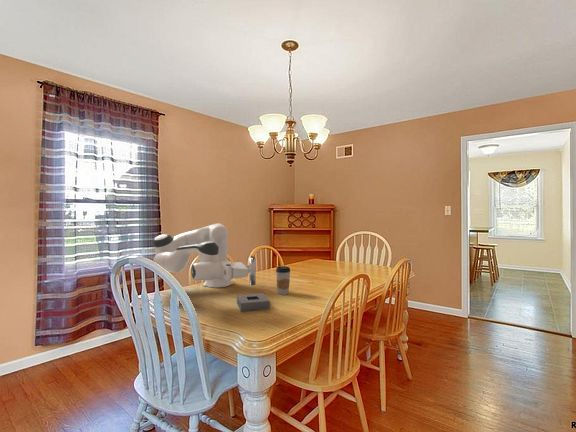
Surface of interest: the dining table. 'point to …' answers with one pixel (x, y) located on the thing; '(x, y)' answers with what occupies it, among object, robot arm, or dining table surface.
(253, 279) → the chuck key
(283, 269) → the coffee cup
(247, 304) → the block
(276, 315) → the dining table surface
